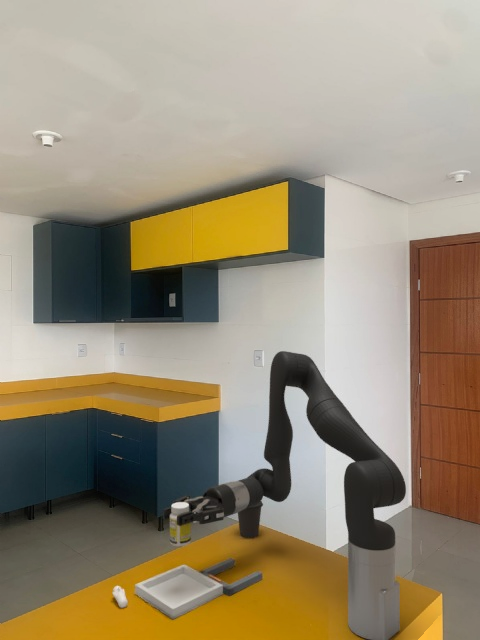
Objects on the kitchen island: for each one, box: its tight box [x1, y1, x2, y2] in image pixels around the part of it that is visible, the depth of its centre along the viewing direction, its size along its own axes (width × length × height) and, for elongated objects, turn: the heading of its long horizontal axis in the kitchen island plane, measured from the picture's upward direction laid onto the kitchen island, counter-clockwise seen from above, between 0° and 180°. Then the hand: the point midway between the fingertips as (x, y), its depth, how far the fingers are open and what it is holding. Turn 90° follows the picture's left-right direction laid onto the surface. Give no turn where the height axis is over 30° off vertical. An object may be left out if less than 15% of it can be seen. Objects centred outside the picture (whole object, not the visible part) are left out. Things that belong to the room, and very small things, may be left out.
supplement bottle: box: [169, 502, 192, 547], centre depth 114 cm, size 5×5×8 cm
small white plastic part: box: [111, 585, 129, 609], centre depth 110 cm, size 4×6×3 cm, turn 6°
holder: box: [198, 557, 263, 597], centre depth 121 cm, size 11×11×2 cm
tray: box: [134, 564, 224, 620], centre depth 114 cm, size 14×14×2 cm
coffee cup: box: [237, 500, 264, 539], centre depth 147 cm, size 8×8×10 cm
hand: (170, 517), depth 112 cm, fingers closed on supplement bottle, 4 cm apart
